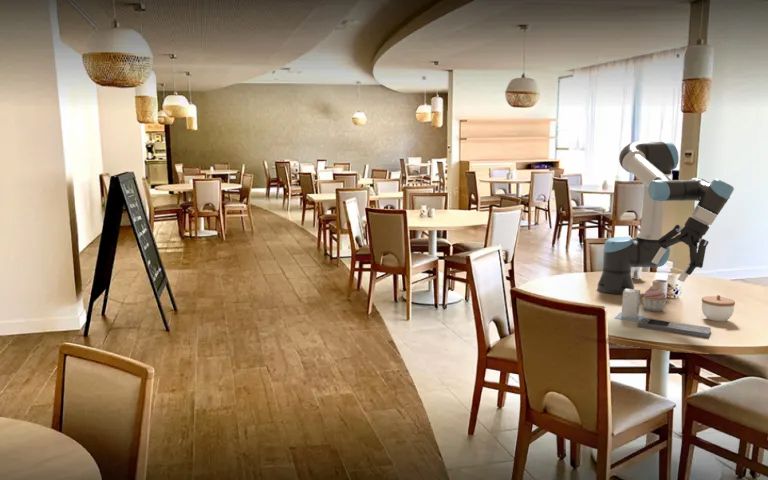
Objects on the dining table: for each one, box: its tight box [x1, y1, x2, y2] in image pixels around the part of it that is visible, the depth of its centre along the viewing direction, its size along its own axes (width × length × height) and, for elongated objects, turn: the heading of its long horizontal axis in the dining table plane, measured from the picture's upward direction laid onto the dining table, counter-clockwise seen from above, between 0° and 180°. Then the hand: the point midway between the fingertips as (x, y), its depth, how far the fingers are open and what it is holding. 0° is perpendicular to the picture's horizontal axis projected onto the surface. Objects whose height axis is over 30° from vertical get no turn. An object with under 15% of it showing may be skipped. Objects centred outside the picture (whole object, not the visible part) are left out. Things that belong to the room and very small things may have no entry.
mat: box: [614, 312, 646, 323], centre depth 230 cm, size 9×9×1 cm
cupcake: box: [641, 284, 668, 313], centre depth 242 cm, size 9×9×10 cm
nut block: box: [621, 289, 641, 320], centre depth 230 cm, size 5×5×10 cm
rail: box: [637, 317, 712, 339], centre depth 216 cm, size 22×8×2 cm, turn 57°
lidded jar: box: [701, 294, 736, 323], centre depth 228 cm, size 11×11×9 cm
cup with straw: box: [631, 267, 643, 280], centre depth 296 cm, size 8×9×20 cm
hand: (667, 271), depth 226 cm, fingers open, 13 cm apart
